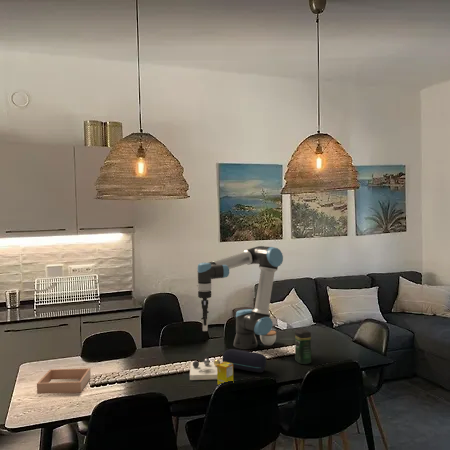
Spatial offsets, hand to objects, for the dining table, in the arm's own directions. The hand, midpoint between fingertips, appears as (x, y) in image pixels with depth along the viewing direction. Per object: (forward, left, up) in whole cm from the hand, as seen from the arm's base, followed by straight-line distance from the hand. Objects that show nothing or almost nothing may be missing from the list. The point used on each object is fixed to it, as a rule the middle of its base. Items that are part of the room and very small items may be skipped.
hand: (205, 327), depth 270 cm
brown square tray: (+71, +26, -21) cm, 79 cm away
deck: (-1, +15, -21) cm, 26 cm away
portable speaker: (-21, +11, -21) cm, 32 cm away
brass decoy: (-6, +11, -17) cm, 21 cm away
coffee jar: (-56, +1, -21) cm, 59 cm away
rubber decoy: (+5, +12, -17) cm, 21 cm away
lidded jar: (-41, -36, -21) cm, 58 cm away
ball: (-1, +9, -17) cm, 19 cm away
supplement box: (-10, +33, -21) cm, 41 cm away
